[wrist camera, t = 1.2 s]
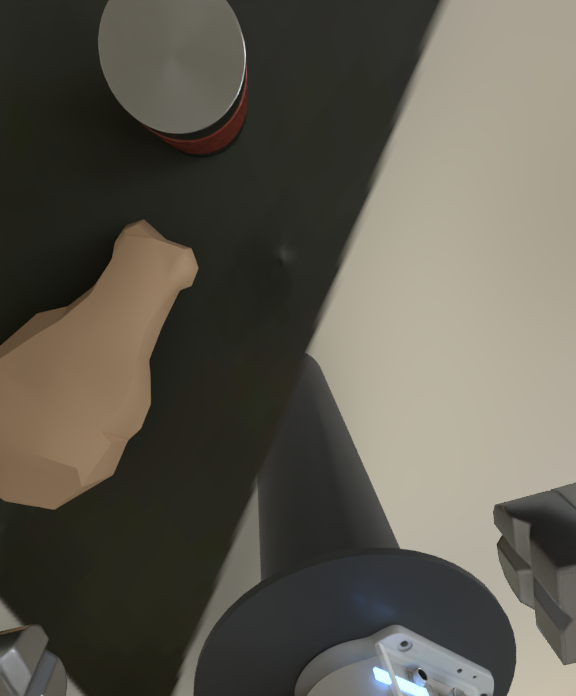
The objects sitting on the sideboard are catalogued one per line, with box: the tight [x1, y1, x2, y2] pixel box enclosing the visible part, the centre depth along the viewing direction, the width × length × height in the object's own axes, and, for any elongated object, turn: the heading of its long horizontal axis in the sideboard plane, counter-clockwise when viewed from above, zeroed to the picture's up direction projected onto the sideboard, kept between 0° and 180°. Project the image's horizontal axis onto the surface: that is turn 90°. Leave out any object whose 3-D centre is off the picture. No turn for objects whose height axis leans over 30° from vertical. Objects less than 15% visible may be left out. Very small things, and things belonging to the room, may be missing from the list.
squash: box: [0, 219, 198, 509], centre depth 30 cm, size 11×20×9 cm, turn 148°
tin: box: [98, 0, 247, 157], centre depth 24 cm, size 6×6×11 cm
